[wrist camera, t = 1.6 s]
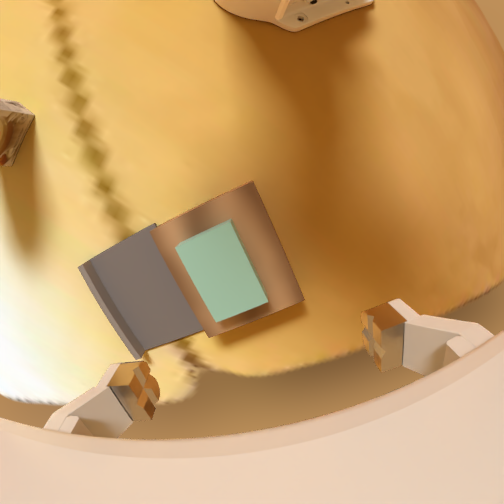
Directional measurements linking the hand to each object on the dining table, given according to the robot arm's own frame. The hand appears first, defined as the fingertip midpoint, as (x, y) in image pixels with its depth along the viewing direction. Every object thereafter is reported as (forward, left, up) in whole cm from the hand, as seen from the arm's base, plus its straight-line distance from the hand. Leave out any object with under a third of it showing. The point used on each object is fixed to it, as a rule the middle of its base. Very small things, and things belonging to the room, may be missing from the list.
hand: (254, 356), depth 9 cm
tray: (+16, +2, -24) cm, 29 cm away
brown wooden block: (+3, +2, -24) cm, 24 cm away
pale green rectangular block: (+4, +2, -20) cm, 20 cm away
